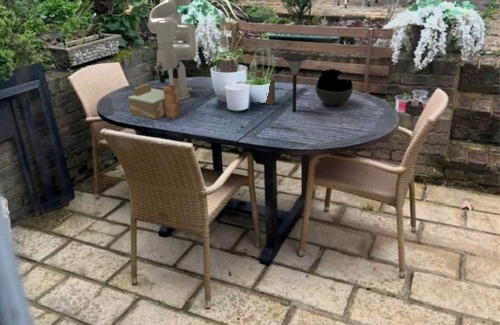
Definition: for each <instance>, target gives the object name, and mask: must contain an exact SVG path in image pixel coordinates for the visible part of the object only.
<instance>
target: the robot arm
mask: <svg viewBox="0 0 500 325" xmlns="http://www.w3.org/2000/svg"><path fill="white" fill-rule="evenodd" d="M191 2H192V0H159V4H157V5H156V6H155V7H153V8H152V9H151V10H150V12H149V15H148V21H147V22H148V23H147V24H148V29H149V30H148V31H150V33H152V34H156V39H157V50H156V66H154V70H155V71H156V73H157V75H158V77H159V83H162V84H166V77H165V73H166V71H168V79H169V85H175V86H177V89H178V99H179V101H184V100H187V99H189V98H190V97H191V94H190V93H189V92H191V91H192V90H193V88H192V87H191V86H190V87H187V77H186V75H187V74H186V67H185V65H184V63H183V62H182V61H183V60H186V61H189V60H190V61H191V60H194V59H196V57H197V41H196V38H197V37H196V28H195V26H194V24H192V23H190V22H189V23H182V15H181V13H180V12H179V11H178V9H177V7H186V6H190V5H191Z"/></svg>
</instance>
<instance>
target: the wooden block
mask: <svg viewBox="0 0 500 325" xmlns="http://www.w3.org/2000/svg"><path fill="white" fill-rule="evenodd" d="M262 76H263V70H261V69H257V70H256V71H255V78H256V77H259V78H261V77H262ZM269 83H270V86H269V93H268V96H267V95H266V96H267V100H266V103H267V104H273V105H275V104H274V103H276V101H275V100H276V94H275V93H276V79H275V78H273V79H272V80H270V81H269ZM267 104H266V105H267Z"/></svg>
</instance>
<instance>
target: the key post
mask: <svg viewBox="0 0 500 325" xmlns="http://www.w3.org/2000/svg"><path fill="white" fill-rule="evenodd" d="M162 87H163V91H164V98H165V107H166V115H165V116H166V117H167V118H171V119H175V118H177V117H180V116H181V110H180V102H179V101H180V100H179V99H178V89H177V86H175V85H170V84H168V85H165V86H162Z"/></svg>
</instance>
